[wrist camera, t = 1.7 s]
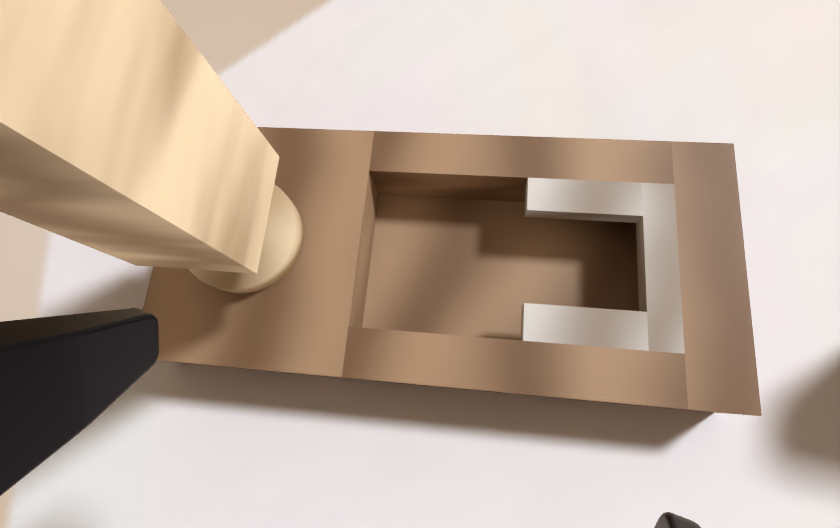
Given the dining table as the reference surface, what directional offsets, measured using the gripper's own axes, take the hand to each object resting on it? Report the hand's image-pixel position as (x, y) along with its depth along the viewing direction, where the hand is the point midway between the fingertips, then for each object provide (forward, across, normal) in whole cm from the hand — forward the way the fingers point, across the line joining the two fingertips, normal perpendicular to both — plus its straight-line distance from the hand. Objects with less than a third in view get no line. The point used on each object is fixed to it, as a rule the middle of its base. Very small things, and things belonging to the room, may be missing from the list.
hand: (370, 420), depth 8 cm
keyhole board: (+14, +2, +3) cm, 15 cm away
